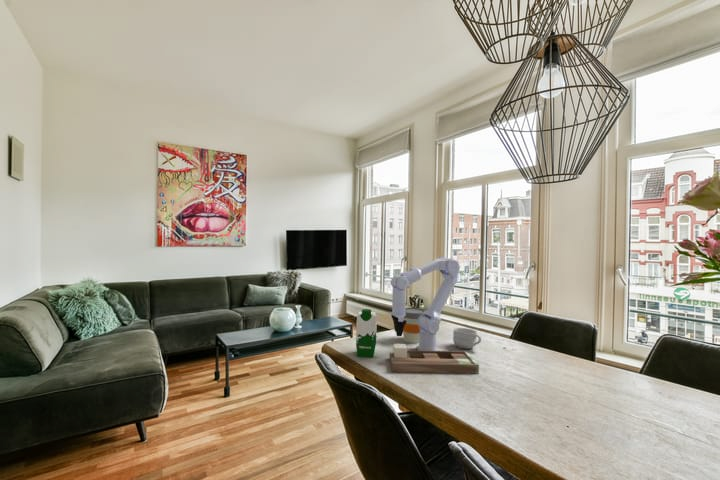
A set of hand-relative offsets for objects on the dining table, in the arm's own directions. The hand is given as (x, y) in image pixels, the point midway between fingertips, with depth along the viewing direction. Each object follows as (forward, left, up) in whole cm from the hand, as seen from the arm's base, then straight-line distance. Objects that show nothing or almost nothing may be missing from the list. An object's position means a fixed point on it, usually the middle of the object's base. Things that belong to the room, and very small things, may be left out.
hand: (398, 333), depth 145 cm
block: (+7, 0, -7) cm, 10 cm away
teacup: (-10, +34, -10) cm, 37 cm away
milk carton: (0, -14, -10) cm, 17 cm away
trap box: (+11, +12, -9) cm, 19 cm away
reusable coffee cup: (-20, +10, -10) cm, 25 cm away
